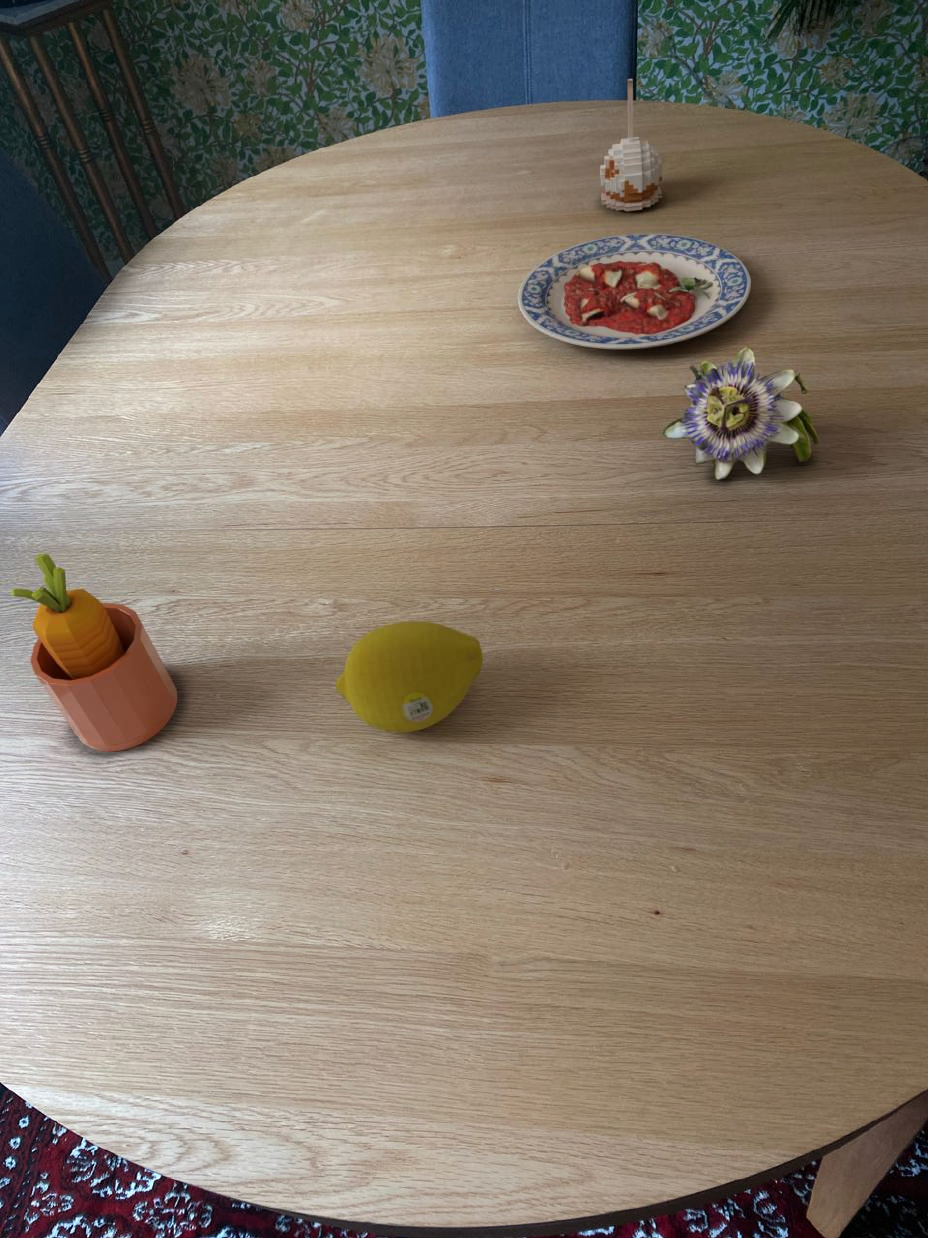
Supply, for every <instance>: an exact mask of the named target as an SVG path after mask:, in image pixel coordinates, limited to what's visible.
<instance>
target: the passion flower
mask: <svg viewBox="0 0 928 1238" xmlns="http://www.w3.org/2000/svg"><path fill="white" fill-rule="evenodd" d="M755 368H756V357H755V352H754V350H753V349H752V348H750V347H749V345H747V346H745V347H744V348H741V350H740V351H739V352H737V355H735V357H734V358H733V360H732V361H730V362H728V363H725V364H724V365H722V364H720V366H719V367H717V365H715V364H713V363H712V362H710V361H708V360H704V361H701V362H700V369H699V370H698V369H697V367H695V365H694V364H690V365H689V369H690V371H691V372H692V373H693V375H694V377H695V380H694V381H693V382H692V383H690V384H685V385H684V387H683V391H684V394H685V395H686V396H687V398H688V399H689V401H690V402H691V403H690V405H689V406H688V408H687V409H685V410H683V411H682V414H681V417H680V418H677V419H675V420H673V421H672V422H670V423H669V424H667V425H666V426H665V427H664V428H663V431H662V435H663V436H664V437H665V438H667V439H672V440H673V439H674V440H678V439H684V438H686V439H688V440H690V442H691V444H692V445H693V446H695V449H694V459H693V460H694V464H695V465H697V466H698V465H703V464H705V463H708V462H710V463H712V464H713V465H714V476H715V480H718V481H719V480H723V479H726V478H727V477H728V476H729V474H730V473H731V471H732V469H733V467H734V466H735V464H736V463H737V462H742V463H743V464H744V465H745V468H746V470H748V471H749V472H751V473H752V474H754V475H759V474H761V473H762V471H763V469H764V468H765V465H766V462H767V459H766V458H767V451H768V449H769V446H770V445H772V444H779V445H785V446H788V445H789V447H790V449H791V450H792V451H793V453H794V455H795V457H796V459H797V460H798V462H799V463H801V462H803V463H805V462H807V461H808V460H809V459H810V457H811V454H812V448H811V447H812V446H811V440H810V437H811V438H812V442H813V444H814V445H816V446H818V445H819V443H820V440H819V435H818V433H817V431H816V429H815V426H814V424H813V421H812V417H811V416H810V415H809V414H808V412H806V411H805V410H804V409H803V408H802V405H801V404H800V403H799V402H797V401H796V400H793V399H789V398H785V397H783V396H782V395H781V393H782V392H783V391H784V390H785V389H787V388H788V387H789V386H790V384H792V383H793V382H794V381H796V382H797V384H798V385H799V386H800V390H801V394H802V395H806V394H808V393H809V391H810V390H809V387H808V385H807V384H806V382H805V380H804V379H803V377H802V376H801V373H800V372H799V370H797V369H796V370H794V369H784V370H778V371H775V372H773V373H771V374H768V375H764V376H762V377H761V378H760V376H761V375H760V374H761V373H760V372H758V373H757V374H756V371H755V370H756V369H755ZM809 436H810V437H809Z"/></svg>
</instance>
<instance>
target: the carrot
mask: <svg viewBox="0 0 928 1238" xmlns="http://www.w3.org/2000/svg"><path fill="white" fill-rule="evenodd" d="M34 560H35V562H36V563H37V566H38V567H39V569H40V570H41V572H42V573H43V575H44V576H43V578H42V580H43V582H44V584H45V586H43V585H42V586H40V587H38V588H37V589H35V590H31V589H27V588H12V589H11V592H10V594H11V596H12V597H20V598H26V599H28V600H32V601H34V602H37V603H39V606H38V608H37V610H36V613H35V616H34V620H33V621H32V629H33V631H34V633H35V635H36V636H37V639H40V640H41V642H42V643H43V645H44V646H45V648H46V649H47V650H48V652H49V653H50V654H51V656H52V657H53V658H54V660H55V661H56V662H57V664H58V665H59V666H60V667H61V668H62V669H63V670H64V672H65V673H66V674H67V675H68V676H69V677H70V678H71V679H73V680H75V679H80V678H86V677H90V676H92V675H94V674H97V673H99V672H101V671H103V670H105V669H107V668H109V667H110V666H112V665H113V664H114V663H115V662H116V661H117V660H119V659H120V658H121V657H122V656H123V655H124V651H123V648H122V644H121V641H120V639H119V637H118V635H117V632H116V630H115V628H114V626H113V624H112V622H111V620H110V618H109V616H108V614H107V612H106V610H105V608H104V606H103V605H102V603H103V602H102V601H100V600H99V599H98V598H96V597H95V596H94V595H93V594H91V593H90V592H88V591H87V590H85V589H84V588H74V589H67V578H66V576H67V575H66V569H65V568H63V567H60V566H57V565H56V564H55V562H54V561H53V559H52V557H51V556H50V554H49V553H39V554H38V555H36V556H35V557H34Z"/></svg>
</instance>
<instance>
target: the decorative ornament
mask: <svg viewBox="0 0 928 1238" xmlns="http://www.w3.org/2000/svg"><path fill="white" fill-rule="evenodd" d="M633 82H634V81H633V78H628V79H627V132H628V133H627V137H626V138H621V139H620V143H614V144H612V145H611V148H610V149H607V152H608V155H604V157H603V158H604V164H601V165H599V167H600V168H599V174H600V175H599V176H600V186H601V187H604V192H603V193H600V199H601V206H604V205H606V209H609V208H610V209H611V210H615V211H624V212H633V211H640V210H643V208H651V206H652V205H653V206H654V205H655V203H659V199H663V193H662V188H661V186H659V184H660V183H659V182H662V181H663V159H662V156H659V154H658V150H657V147H655V148H654V147H653V144H652V143H651V144H649V140H647V139H646V140H640V136H634V87H633V86H634V85H633V84H634V83H633Z"/></svg>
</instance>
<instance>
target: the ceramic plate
mask: <svg viewBox="0 0 928 1238" xmlns="http://www.w3.org/2000/svg"><path fill="white" fill-rule="evenodd" d="M751 283H752V280H751V275H750V273H749V271H748V268H747V267H746V266H745V264H744V263H743V261H742V260H740V258H738V257H736V256H735V255H734V254H733V253H731V252H730V251H728V250H727V249H725V248H724V247H721V246H718V245H717V244H713V243H711V242H708V241H705V240H702V239H698V238H694V237H689V236H683V235H675V234H668V233H632V234H621V235H620V234H619V235H614V236H606V237H602V238H598V239H594V240H589V241H585V242H581V243H579V244H576V245H574V246H571V247H568V248H566V249H563V250H561V251H558V252H556V253H555V254H552V255H551V256H549V257H547V258H546V259H545V260H543V261H542V262H540V263H539V264H537V265H536V266H535V267H534V268H533V269H531V270H530V271H529V273H528V274H527V275H526V276H525V278H524V279H523V281H522V282H521V284H520V286H519V289H518V293H517V304H518V307H519V310H520V313H521V314H522V316H523V318H524V319H525V320H526V321H527V322H528V323H529V324H530V325H531V326H533V327H534V328H535V329H536V330H538V331H539V332H541V333H542V334H545V335H546V336H549V337H551V338H553V339H555V340H558V341H560V342H564V343H566V344H567V343H568V344H572V345H576V346H579V347H586V348H594V349H605V350H639V349H647V348H654V347H655V348H656V347H661V346H667V345H671V344H675V343H680V342H682V341H688V340H689V339H692V338H695V337H698V336H700V335H703V334H706V333H708V332H709V331H712V330H714V329H715V328H717V327H719V326H721V325H722V324H724V323H726V322H727V321H728V320H730V319H731V318H732V317H734V316H735V315H736V314H737V313H738V312H739V311H740V310H741V309H742V308H743V306H744V305H745V303H746V302H747V299H748V298H749V295H750V292H751Z"/></svg>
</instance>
